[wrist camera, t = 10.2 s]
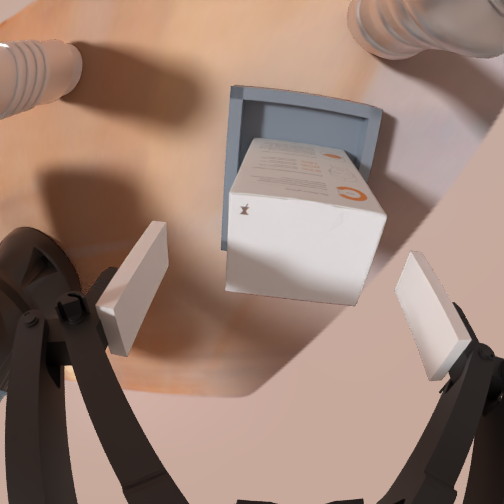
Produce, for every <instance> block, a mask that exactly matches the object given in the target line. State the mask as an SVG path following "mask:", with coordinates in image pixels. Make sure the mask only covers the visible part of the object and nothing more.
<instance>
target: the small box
mask: <svg viewBox="0 0 504 504" xmlns="http://www.w3.org/2000/svg"><path fill="white" fill-rule="evenodd" d="M387 218H388V216H387V214H386V213H385V211H384V210H383V208H382V207H381V205H380V204H379V202H378V200H377V199H376V197H375V196H374V194H373V193H372V191H371V189H370V188H369V186H368V185H367V183H366V182H365V180H364V179H363V177H362V176H361V174H360V173H359V171H358V170H357V168H356V167H355V165H354V164H353V163H352V161H351V160H350V158H349V157H348V155H347V154H346V153H345V151H344V150H341V149H335V148H330V147H324V146H318V145H312V144H306V143H298V142H291V141H283V140H275V139H266V138H254V139H253V141H252V143H251V145H250V147H249V149H248V151H247V153H246V155H245V158H244V160H243V163H242V165H241V167H240V169H239V172H238V174H237V176H236V178H235V181H234V183H233V185H232V188H231V190H230V192H229V213H228V240H227V267H226V288H225V290H226V291H228V292H236V293H244V294H251V295H260V296H267V297H276V298H284V299H293V300H301V301H311V302H320V303H329V304H339V305H348V306H355V305H356V304H357V301H358V299H359V296H360V294H361V291H362V288H363V286H364V283H365V281H366V278H367V275H368V273H369V270H370V267H371V265H372V262H373V259H374V256H375V253H376V251H377V248H378V245H379V242H380V239H381V236H382V233H383V230H384V227H385V224H386V221H387Z"/></svg>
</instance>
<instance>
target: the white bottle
mask: <svg viewBox="0 0 504 504" xmlns="http://www.w3.org/2000/svg"><path fill="white" fill-rule="evenodd" d="M82 67H83V64H82V57H81V54H80V52H79V50H78V49H77V48H76V47H75V46H74V45H72V44H69V43H64V42H62V41H60V40H56V39H54V40H47V41H41V42H40V41H37V40H21V41H10V42H1V43H0V120H2V119H4V118H6V117H10V116H12V115H15V114H19V113H21V112H25V111H27V110H30V109H32V108H34V107H35V106H37V105H42V104H48V103H52V102H54V101H56V100H58V99H59V98H60V97H61V96H63V95H66V94H68V93H69V92H71V91H72V90H73V89H74V88H75V86H76V85H77V83H78V81H79V80H80V77H81V73H82Z"/></svg>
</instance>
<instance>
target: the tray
mask: <svg viewBox="0 0 504 504" xmlns="http://www.w3.org/2000/svg"><path fill="white" fill-rule="evenodd" d="M382 111H383V109H380V108H378V107H375V106H372V105H367V104H363V103H358V102H354V101H349V100H344V99H339V98H334V97H328V96H322V95H317V94H310V93H304V92H297V91H289V90H282V89H273V88H264V87H253V86H240V85H234V86H231V92H230V104H229V118H228V132H227V146H226V162H225V178H224V196H223V216H222V237H221V250H225V251H227V240H228V213H229V192H230V190H231V188H232V185H233V183H234V181H235V178H236V176H237V174H238V172H239V169H240V167H241V165H242V163H243V160H244V158H245V155H246V153H247V151H248V149H249V147H250V145H251V143H252V141H253V139H254V138H266V139H275V140H283V141H291V142H298V143H306V144H312V145H318V146H324V147H330V148H335V149H341V150H344V151H345V153H346V154H347V155H348V157H349V158H350V160H351V161H352V163H353V164H354V165H355V167H356V168H357V170H358V171H359V173H360V174H361V176H362V177H363V179H364V180H365V182H366V183H368V179H369V175H370V170H371V166H372V161H373V157H374V152H375V147H376V143H377V138H378V132H379V127H380V122H381V117H382Z"/></svg>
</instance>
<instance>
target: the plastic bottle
mask: <svg viewBox="0 0 504 504" xmlns="http://www.w3.org/2000/svg"><path fill="white" fill-rule="evenodd" d="M347 21H348V27H349V30H350V32H351V34H352V36H353V38H354V39H355V40H356V42H357V43H358V44H359V45H360V46H361V47H362V48H364V49H365V50H367V51H368V52H370V53H372V54H374V55H376V56H379V57H382V58H385V59H390V60H402V59H406V58H410V57H412V56H415V55H416V54H418V53H420V52H422V51H424V50H427V49H437V50H444V51H449V52H453V53H457V54H460V55H465V56H469V57H476V58H493V57H497V56H499V55H501V54H503V53H504V0H352V1H351V3H350V5H349V8H348V15H347Z"/></svg>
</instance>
